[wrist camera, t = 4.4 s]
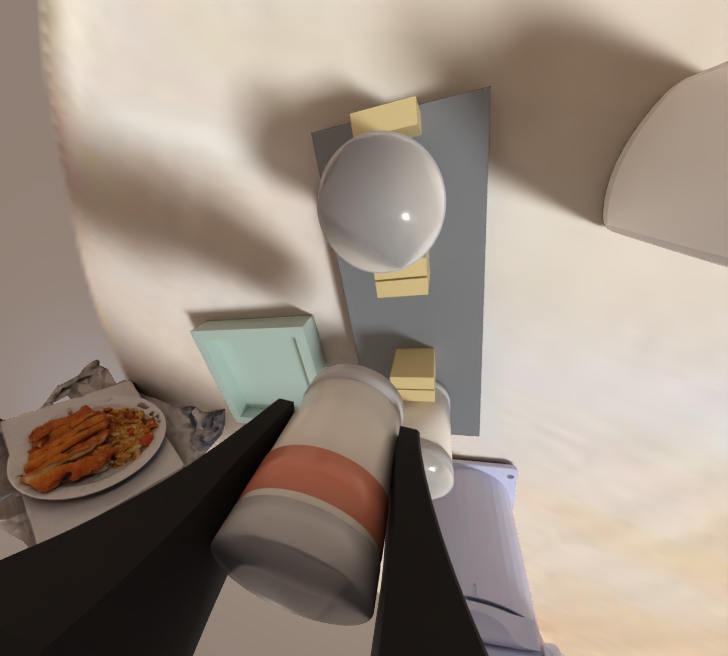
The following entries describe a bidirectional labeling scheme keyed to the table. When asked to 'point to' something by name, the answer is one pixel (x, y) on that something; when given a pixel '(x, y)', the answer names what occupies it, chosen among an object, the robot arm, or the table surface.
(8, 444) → the meal
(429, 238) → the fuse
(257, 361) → the tray
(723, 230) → the eye dropper bottle
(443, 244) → the fuse holder
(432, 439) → the fuse
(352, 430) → the cylinder
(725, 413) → the table surface
